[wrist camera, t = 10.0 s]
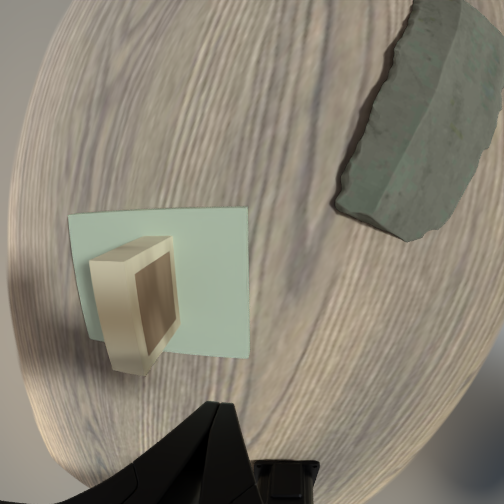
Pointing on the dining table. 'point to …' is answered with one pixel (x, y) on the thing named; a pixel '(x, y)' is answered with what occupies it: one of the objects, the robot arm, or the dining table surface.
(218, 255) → the mat
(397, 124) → the stone slab
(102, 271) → the beige flat box
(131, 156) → the dining table surface
